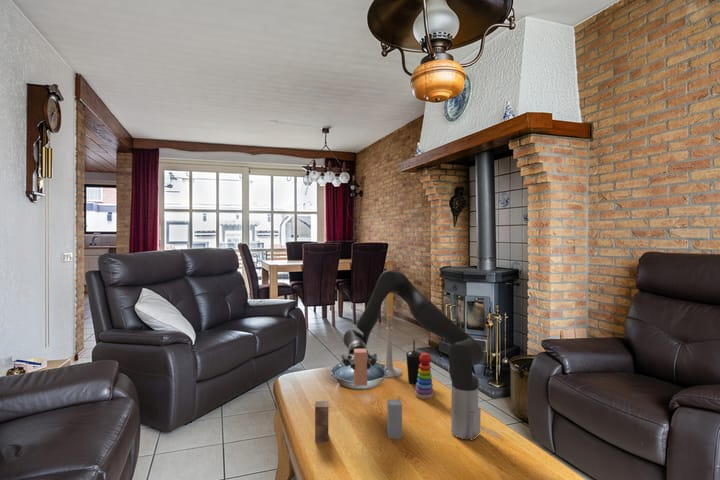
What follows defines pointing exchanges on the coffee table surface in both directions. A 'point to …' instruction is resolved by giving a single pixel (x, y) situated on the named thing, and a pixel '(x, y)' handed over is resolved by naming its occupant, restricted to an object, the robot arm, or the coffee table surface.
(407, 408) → the coffee table surface
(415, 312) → the robot arm
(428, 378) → the stacking toy
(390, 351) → the candlestick
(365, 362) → the pillar terracotta
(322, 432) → the pillar walnut
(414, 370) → the drinking cup
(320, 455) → the coffee table surface
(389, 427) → the pillar slate
